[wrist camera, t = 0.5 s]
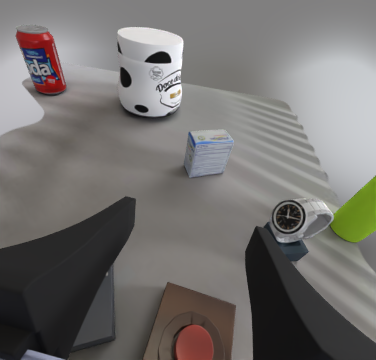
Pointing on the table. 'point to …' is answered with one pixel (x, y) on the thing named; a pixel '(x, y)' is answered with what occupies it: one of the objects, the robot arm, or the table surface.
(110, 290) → the timer panel
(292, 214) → the watch
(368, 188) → the soap dispenser
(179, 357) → the push knob
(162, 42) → the milk container
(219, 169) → the medicine box
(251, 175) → the table surface
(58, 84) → the soda can
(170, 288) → the button block
